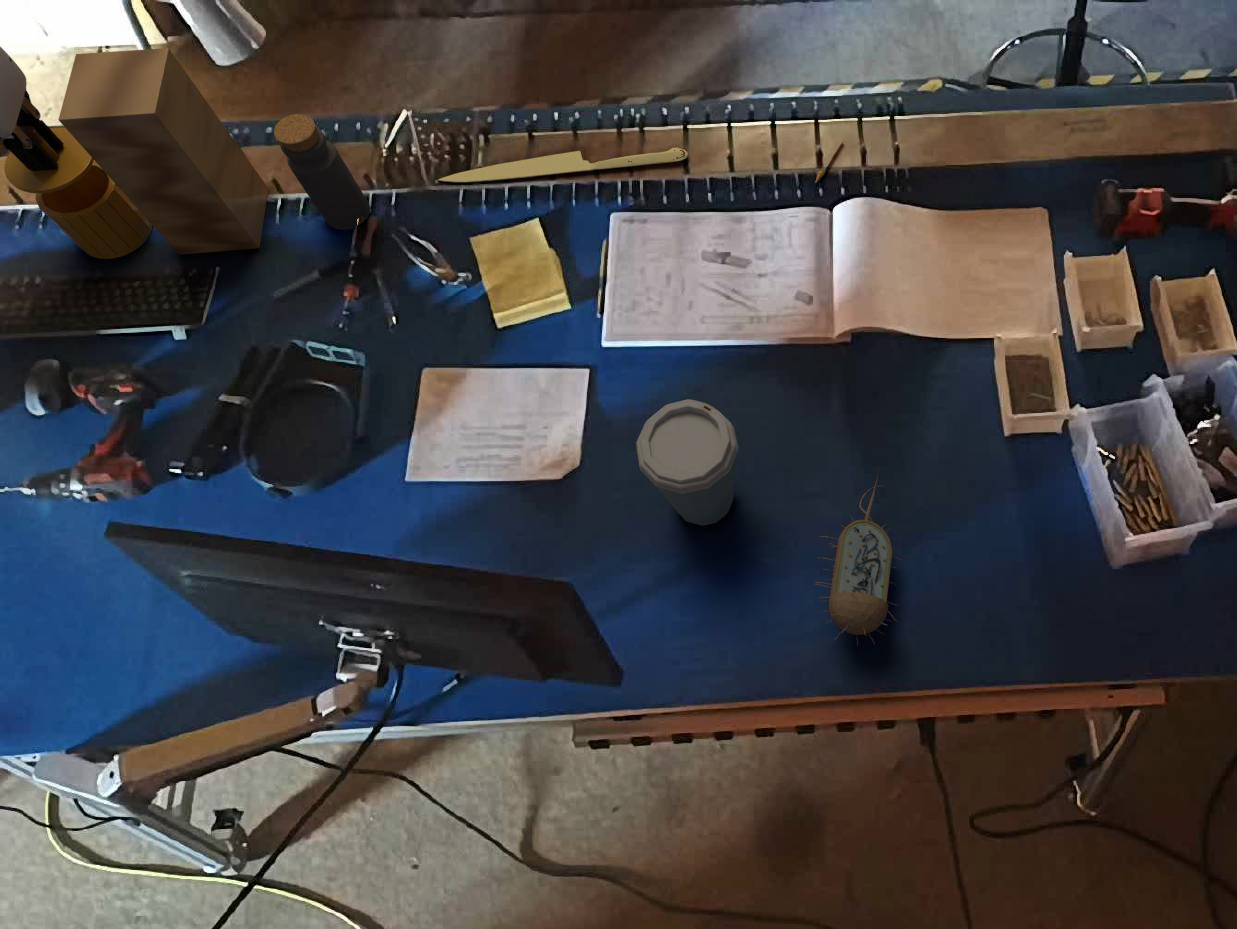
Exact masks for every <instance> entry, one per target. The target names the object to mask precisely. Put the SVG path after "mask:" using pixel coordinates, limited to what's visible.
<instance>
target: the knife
mask: <svg viewBox="0 0 1237 929" xmlns="http://www.w3.org/2000/svg"><path fill="white" fill-rule="evenodd" d="M674 150H675V151H674ZM680 150H683V151H684V152H685V156H684V157H682V158H679V159H676V157H681V156H683V155H681V154H683V152H682V151H680ZM688 155H689V152H688V151H686V149H683V148H680V147H672V148H670V149H668V150H666V151H660V152H648V153H641V154H634V155H626V156H620V157H614V158H609V159H604V160H598V161H596V162H589V160H587V159H586V160H585V159H583V156H582V153H581V150H575V151H569V152H563V153H556V154H549V155H544V156H538V157H533V158H525V159H521V160H515V161H509V162H503V163H498V164H492V165H488V166H484V167H478V168H474V169H469V170H466V171H461V172H457V173H453V174H451V175H447V176H444V177H441V178H439V179H437V181H440V182H448V183H477V182H490V181H491V182H492V181H502V180H513V179H523V178H534V177H542V176H551V175H562V174H569V173H579V172H589V171H595V170H607V169H609V170H610V169H617V168H629V167H638V166H640V167H641V166H648V165H658V164H666V163H667V164H668V163H675V162H680V161H684V160H686V159H687V158H688ZM673 159H674V160H673ZM628 161H630V162H628ZM631 161H632V162H631Z"/></svg>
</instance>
